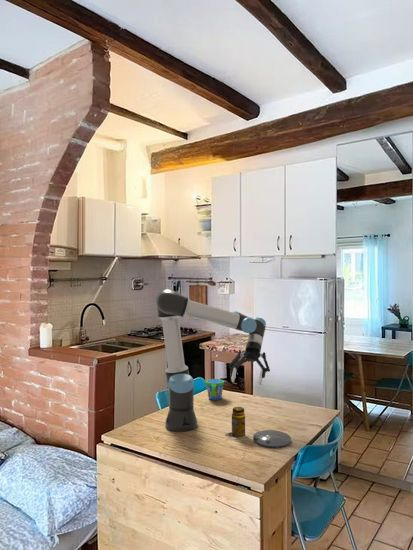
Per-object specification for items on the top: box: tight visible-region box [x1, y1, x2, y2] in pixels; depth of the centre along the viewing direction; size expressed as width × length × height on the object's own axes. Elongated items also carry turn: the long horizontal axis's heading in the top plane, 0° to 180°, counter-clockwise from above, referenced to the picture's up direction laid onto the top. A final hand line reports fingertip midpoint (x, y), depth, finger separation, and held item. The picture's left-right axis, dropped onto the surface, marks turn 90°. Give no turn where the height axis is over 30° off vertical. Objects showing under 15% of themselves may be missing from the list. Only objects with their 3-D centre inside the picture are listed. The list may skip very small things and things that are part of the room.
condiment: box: [224, 406, 250, 440], centre depth 189 cm, size 7×8×12 cm
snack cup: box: [205, 378, 225, 401], centre depth 244 cm, size 16×10×10 cm
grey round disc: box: [252, 429, 292, 449], centre depth 183 cm, size 16×16×4 cm
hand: (245, 382), depth 200 cm, fingers open, 13 cm apart
